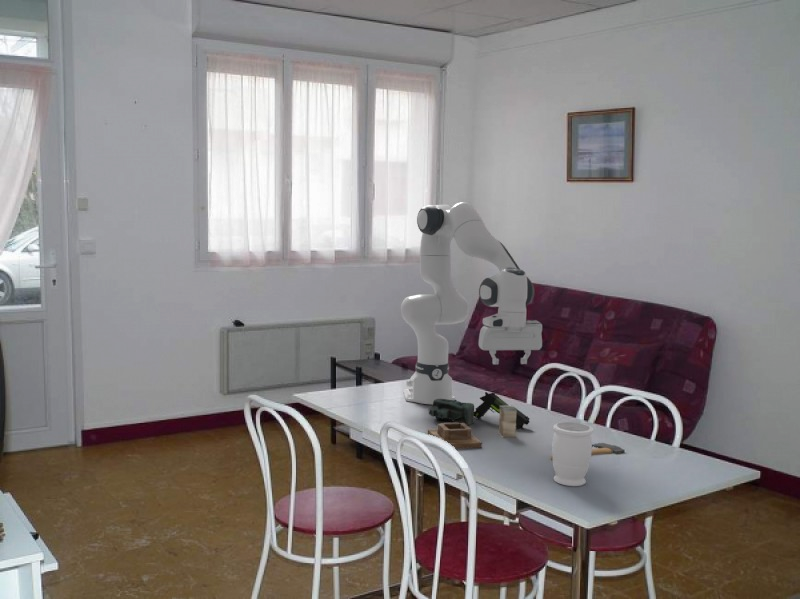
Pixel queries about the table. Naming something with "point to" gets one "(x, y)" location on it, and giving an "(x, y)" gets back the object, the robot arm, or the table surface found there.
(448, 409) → the sculpture
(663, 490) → the table surface
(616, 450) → the hand axe
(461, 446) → the walnut base
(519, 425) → the pistol
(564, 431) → the jar
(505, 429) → the maple post
